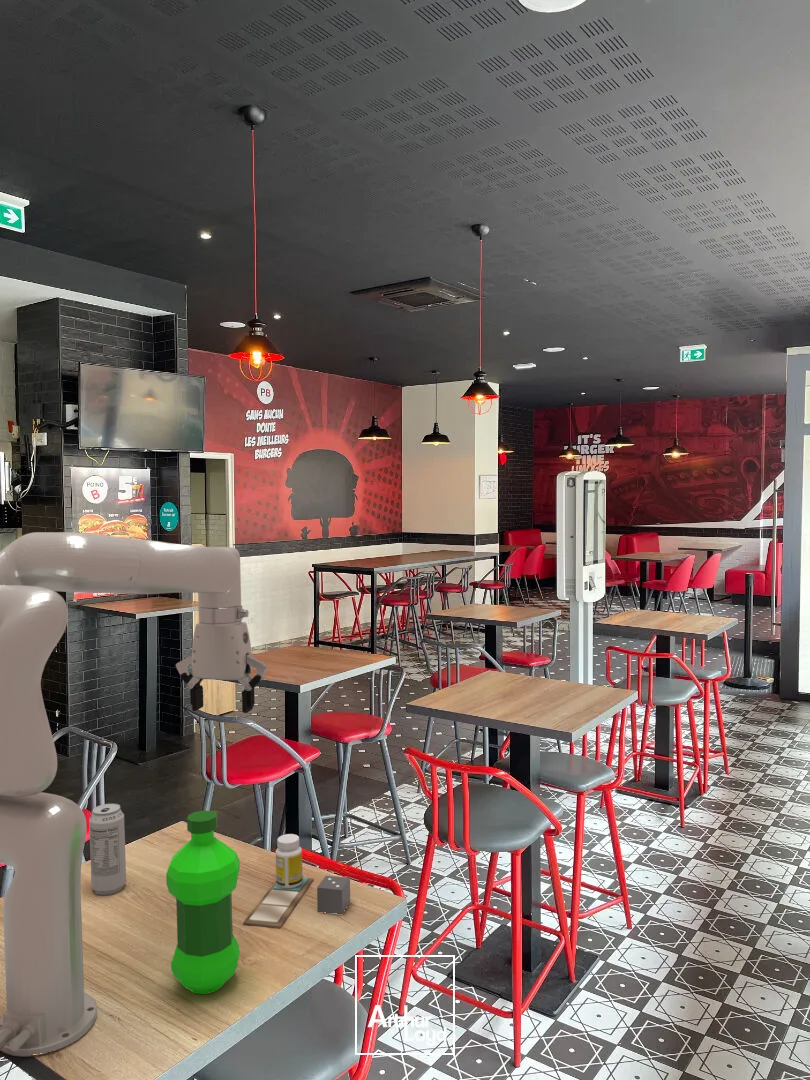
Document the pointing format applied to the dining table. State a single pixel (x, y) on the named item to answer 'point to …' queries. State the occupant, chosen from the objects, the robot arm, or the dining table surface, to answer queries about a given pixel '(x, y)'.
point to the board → (277, 905)
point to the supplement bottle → (288, 861)
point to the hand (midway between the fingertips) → (222, 710)
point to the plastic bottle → (204, 907)
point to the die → (333, 894)
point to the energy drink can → (107, 849)
